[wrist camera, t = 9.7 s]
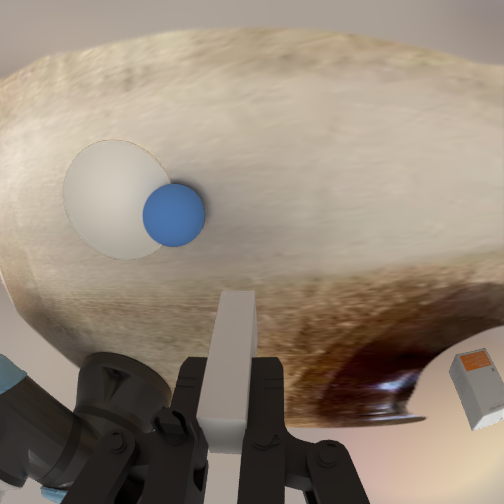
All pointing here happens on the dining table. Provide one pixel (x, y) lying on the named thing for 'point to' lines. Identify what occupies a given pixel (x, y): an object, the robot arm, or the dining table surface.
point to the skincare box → (478, 388)
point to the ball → (173, 215)
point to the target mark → (113, 197)
